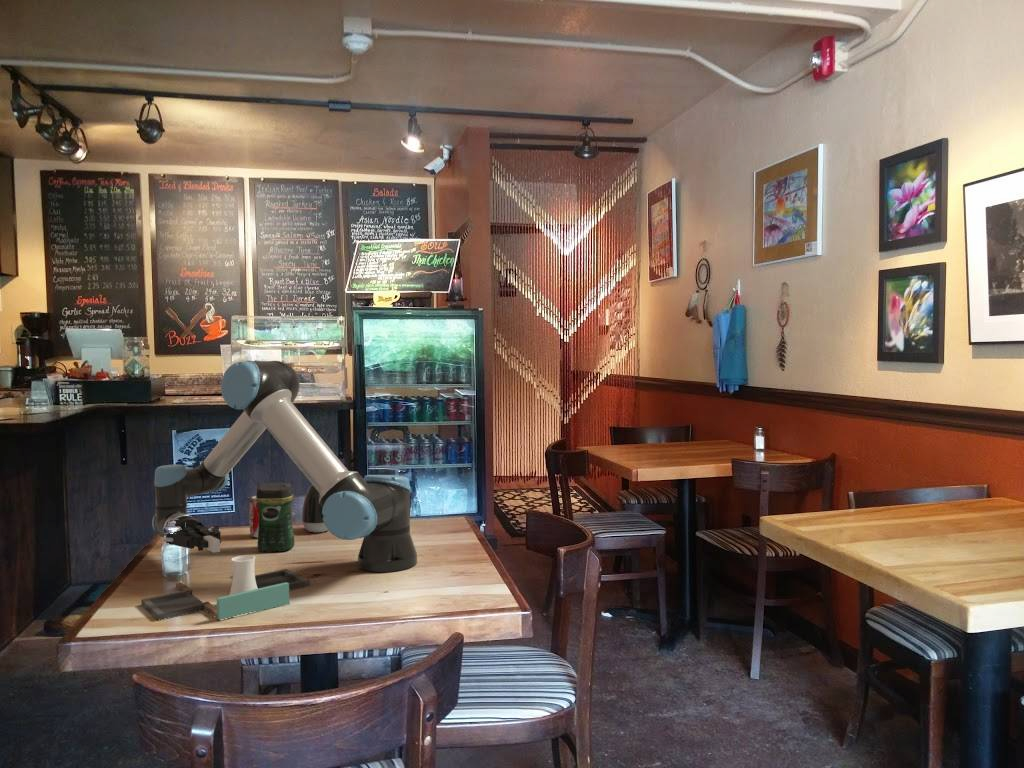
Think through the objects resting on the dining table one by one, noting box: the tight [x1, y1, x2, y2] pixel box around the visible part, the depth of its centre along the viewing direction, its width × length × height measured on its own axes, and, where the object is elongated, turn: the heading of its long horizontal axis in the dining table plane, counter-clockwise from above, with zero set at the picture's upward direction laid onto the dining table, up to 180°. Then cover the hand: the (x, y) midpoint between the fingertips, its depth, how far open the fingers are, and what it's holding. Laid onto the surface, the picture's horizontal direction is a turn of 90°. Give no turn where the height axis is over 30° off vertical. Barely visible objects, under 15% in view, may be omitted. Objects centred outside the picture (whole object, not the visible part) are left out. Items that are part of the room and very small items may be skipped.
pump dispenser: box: [301, 484, 329, 534], centre depth 218 cm, size 10×10×15 cm
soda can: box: [248, 495, 259, 539], centre depth 212 cm, size 7×7×12 cm
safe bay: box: [216, 582, 290, 620], centre depth 148 cm, size 1×15×4 cm, turn 132°
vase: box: [228, 554, 258, 595], centre depth 153 cm, size 8×8×10 cm
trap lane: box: [141, 568, 310, 621], centre depth 159 cm, size 27×33×1 cm
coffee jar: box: [255, 482, 295, 553], centre depth 197 cm, size 10×8×19 cm
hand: (216, 546), depth 164 cm, fingers closed
